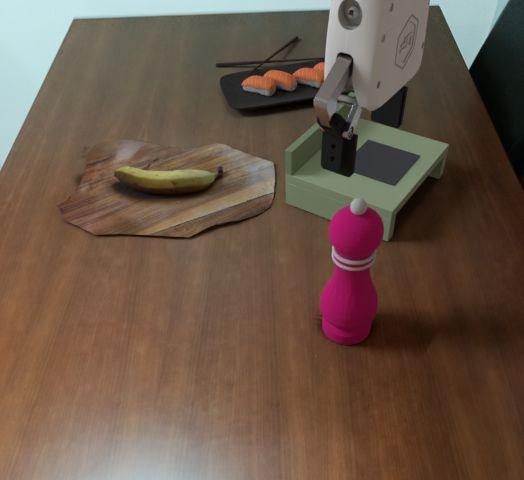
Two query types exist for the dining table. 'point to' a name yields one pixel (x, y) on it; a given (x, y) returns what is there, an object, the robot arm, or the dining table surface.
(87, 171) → the cutting board
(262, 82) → the sushi plate
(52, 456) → the dining table surface
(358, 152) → the shelf
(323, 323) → the pepper mill
